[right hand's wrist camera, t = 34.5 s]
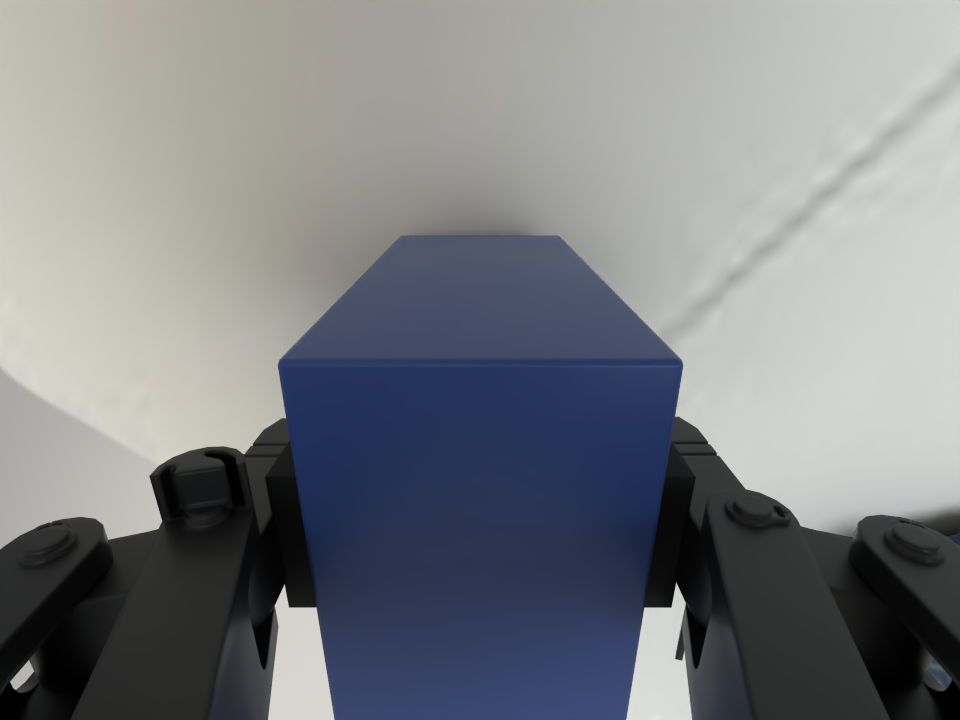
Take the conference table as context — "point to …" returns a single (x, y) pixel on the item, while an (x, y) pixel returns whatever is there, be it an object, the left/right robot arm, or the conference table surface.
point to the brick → (480, 481)
